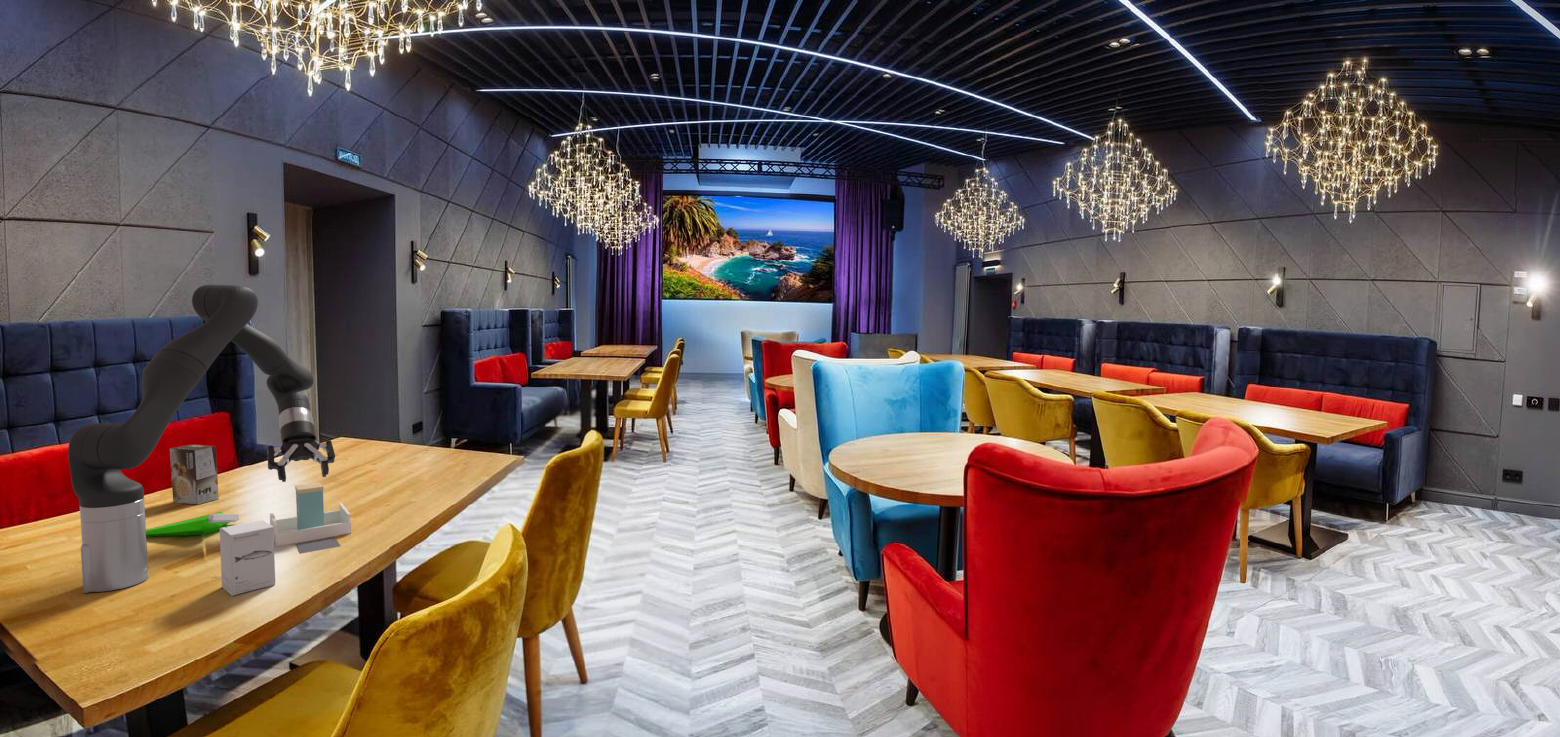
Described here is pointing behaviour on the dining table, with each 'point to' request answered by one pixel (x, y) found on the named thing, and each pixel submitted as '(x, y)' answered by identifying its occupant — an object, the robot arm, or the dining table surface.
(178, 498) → the coffee box
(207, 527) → the green and white wedge
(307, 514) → the tea tin
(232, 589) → the supplement box
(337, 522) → the tote
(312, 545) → the coaster
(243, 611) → the dining table surface
